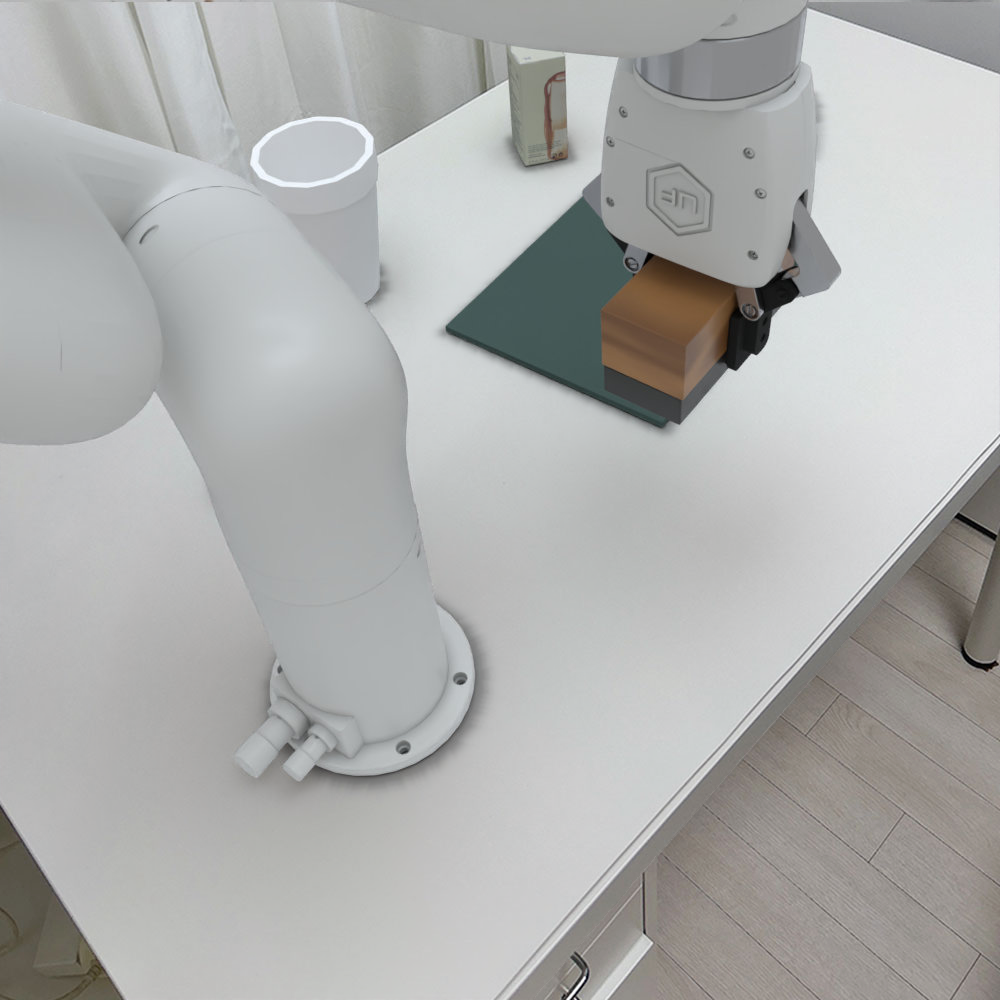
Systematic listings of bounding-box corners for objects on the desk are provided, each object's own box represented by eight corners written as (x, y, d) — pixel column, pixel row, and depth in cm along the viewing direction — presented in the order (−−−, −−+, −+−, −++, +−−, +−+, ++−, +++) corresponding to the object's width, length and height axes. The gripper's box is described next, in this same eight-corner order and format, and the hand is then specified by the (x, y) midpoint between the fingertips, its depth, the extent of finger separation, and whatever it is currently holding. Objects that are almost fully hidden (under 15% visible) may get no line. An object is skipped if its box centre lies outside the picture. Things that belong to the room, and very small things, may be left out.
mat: (662, 428, 80) (662, 422, 80) (445, 331, 89) (445, 326, 88) (810, 249, 92) (811, 243, 91) (606, 178, 100) (606, 173, 100)
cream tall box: (570, 159, 103) (567, 56, 95) (524, 168, 102) (517, 66, 94) (555, 129, 106) (551, 28, 98) (511, 138, 105) (503, 37, 98)
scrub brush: (681, 426, 60) (685, 346, 56) (602, 390, 62) (599, 309, 58) (788, 300, 66) (800, 218, 61) (712, 271, 68) (718, 189, 63)
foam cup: (421, 274, 93) (399, 138, 83) (349, 337, 89) (317, 201, 79) (337, 238, 97) (307, 104, 87) (265, 297, 93) (224, 163, 83)
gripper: (515, 28, 51) (540, 320, 66) (856, 132, 44) (801, 436, 58) (605, -41, 55) (611, 250, 69) (937, 44, 47) (866, 352, 61)
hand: (698, 333), depth 63 cm, fingers closed on scrub brush, 5 cm apart
